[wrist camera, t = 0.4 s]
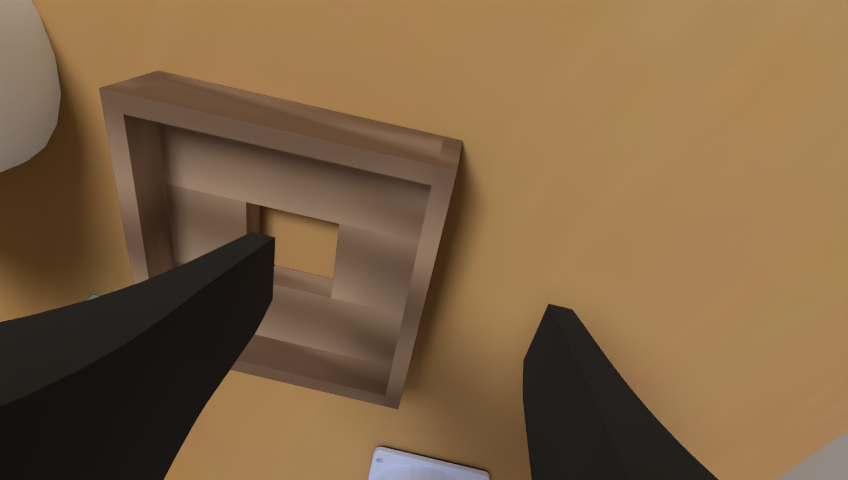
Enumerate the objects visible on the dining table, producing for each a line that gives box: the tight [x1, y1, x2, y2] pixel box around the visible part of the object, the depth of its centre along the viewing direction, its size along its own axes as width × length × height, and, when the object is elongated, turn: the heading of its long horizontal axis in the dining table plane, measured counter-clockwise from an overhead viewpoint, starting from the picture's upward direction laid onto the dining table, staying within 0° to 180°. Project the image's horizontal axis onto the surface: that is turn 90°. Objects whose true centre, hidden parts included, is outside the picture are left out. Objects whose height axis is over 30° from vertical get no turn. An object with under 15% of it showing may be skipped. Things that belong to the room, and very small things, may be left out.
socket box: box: [99, 71, 462, 409], centre depth 22 cm, size 14×14×4 cm
